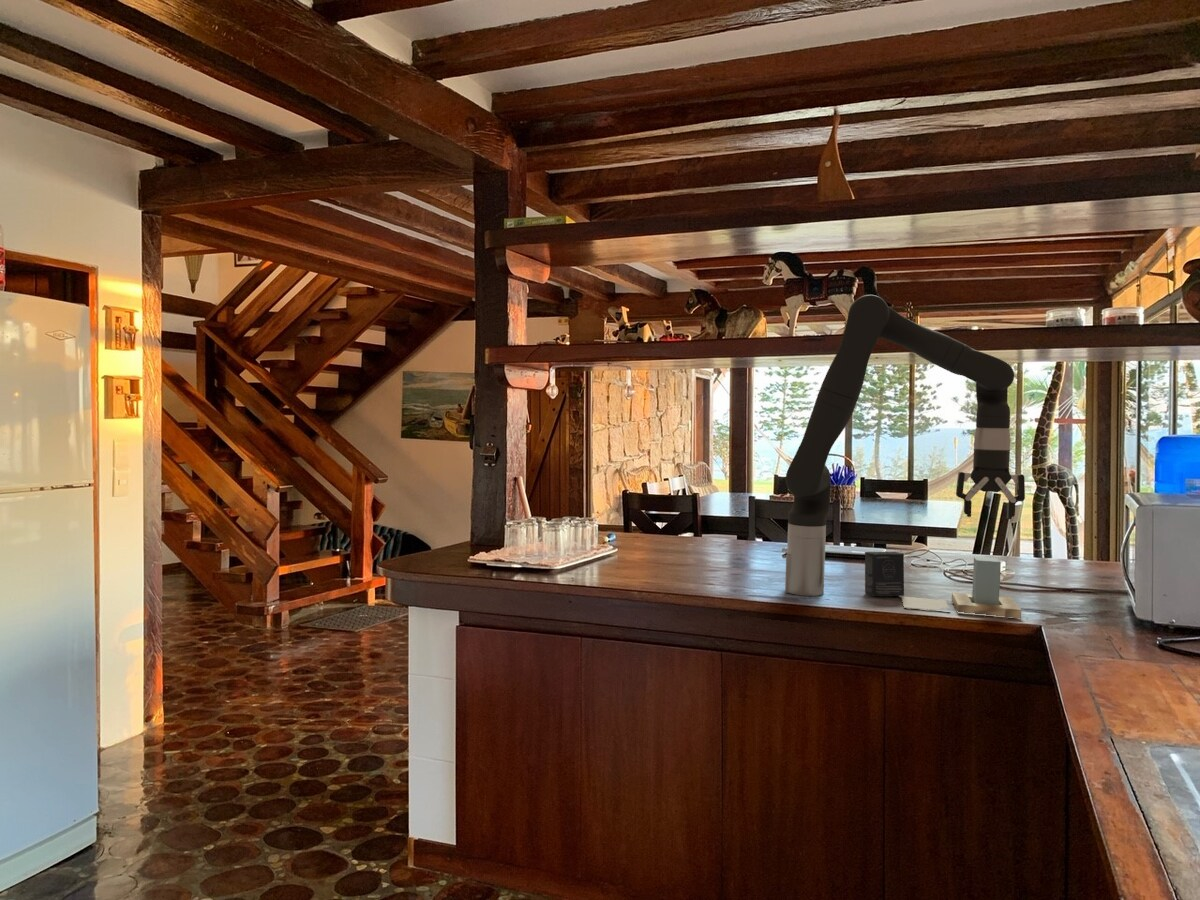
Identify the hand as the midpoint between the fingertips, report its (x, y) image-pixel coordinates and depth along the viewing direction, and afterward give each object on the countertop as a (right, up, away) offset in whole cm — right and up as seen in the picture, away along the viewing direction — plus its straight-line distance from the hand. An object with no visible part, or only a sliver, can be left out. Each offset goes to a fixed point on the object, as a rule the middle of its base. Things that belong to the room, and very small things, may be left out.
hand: (988, 517), depth 191 cm
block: (0, -22, +1) cm, 22 cm away
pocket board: (0, -22, +1) cm, 22 cm away
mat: (-13, -21, +5) cm, 25 cm away
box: (-19, -21, +14) cm, 32 cm away
